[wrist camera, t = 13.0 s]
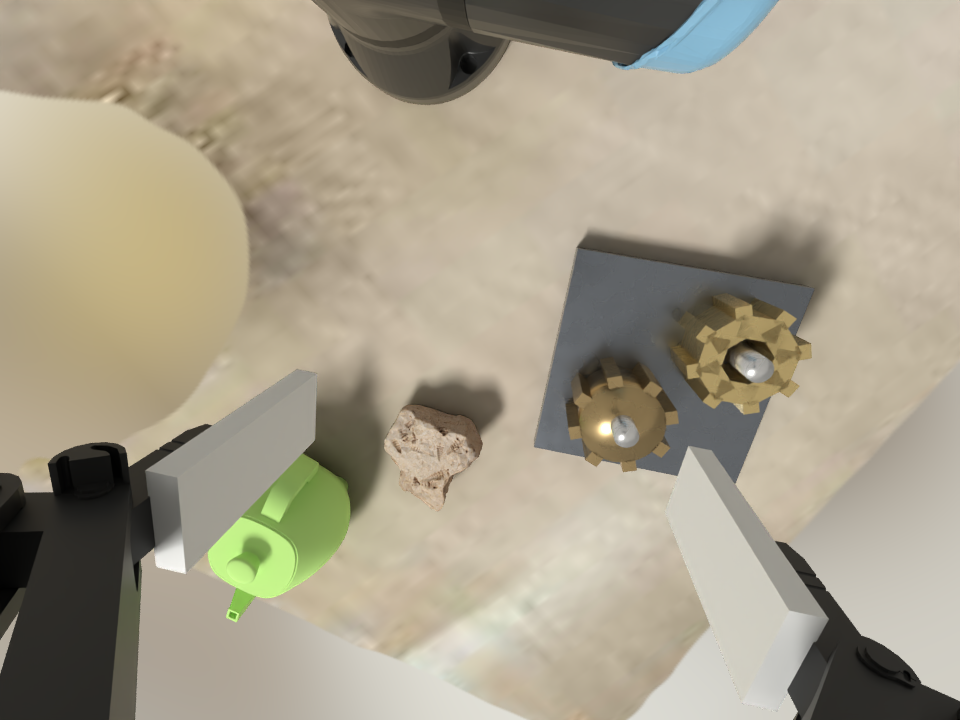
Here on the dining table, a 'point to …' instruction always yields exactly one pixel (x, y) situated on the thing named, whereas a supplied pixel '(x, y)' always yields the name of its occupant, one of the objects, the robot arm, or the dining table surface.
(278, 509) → the teapot
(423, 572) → the dining table surface
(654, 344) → the plate
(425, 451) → the stone
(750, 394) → the planet gear
